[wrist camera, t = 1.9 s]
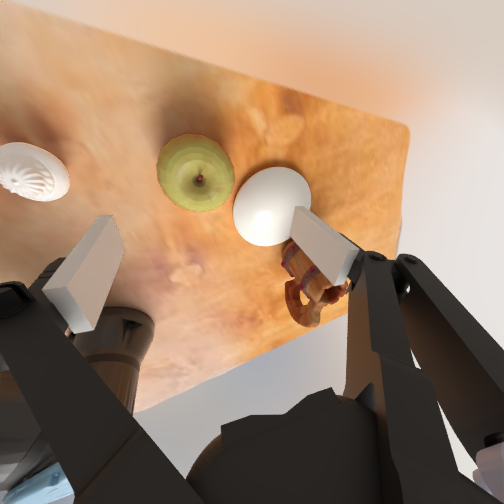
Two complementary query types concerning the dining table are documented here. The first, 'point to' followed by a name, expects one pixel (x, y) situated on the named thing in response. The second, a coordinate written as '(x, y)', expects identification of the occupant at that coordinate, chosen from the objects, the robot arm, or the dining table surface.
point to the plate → (269, 205)
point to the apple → (195, 172)
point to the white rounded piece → (32, 172)
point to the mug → (307, 287)
